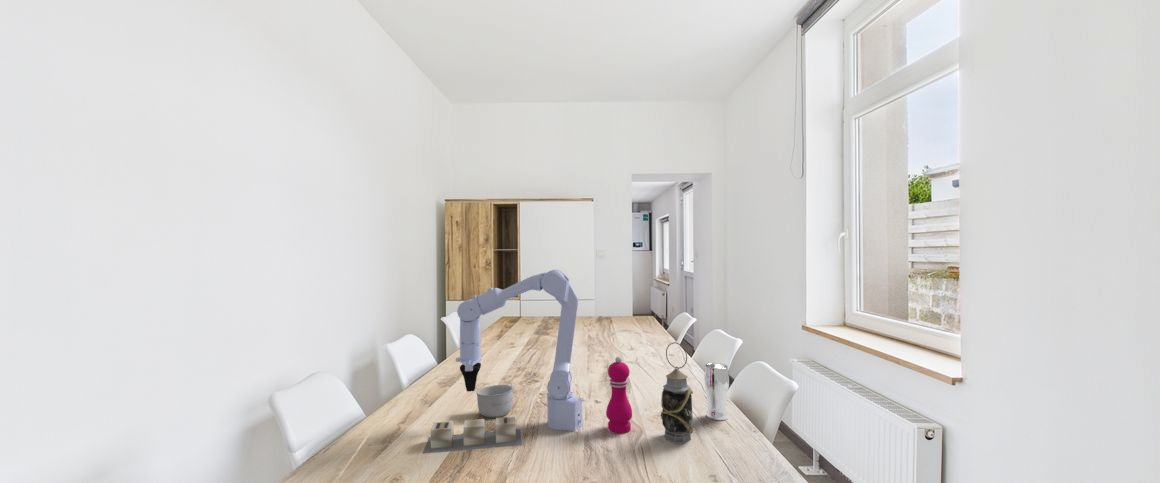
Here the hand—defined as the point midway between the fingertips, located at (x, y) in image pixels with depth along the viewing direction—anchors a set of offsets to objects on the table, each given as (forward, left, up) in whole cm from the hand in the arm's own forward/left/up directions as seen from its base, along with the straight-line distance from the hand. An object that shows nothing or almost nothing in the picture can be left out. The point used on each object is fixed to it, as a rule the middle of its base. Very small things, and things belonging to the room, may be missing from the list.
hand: (470, 390), depth 128 cm
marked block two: (0, +13, -10) cm, 16 cm away
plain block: (-7, +9, -10) cm, 15 cm away
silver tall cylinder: (-65, -30, -11) cm, 72 cm away
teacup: (-2, -12, -11) cm, 16 cm away
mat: (-7, +9, -10) cm, 15 cm away
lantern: (-56, -11, -11) cm, 58 cm away
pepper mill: (-40, -12, -11) cm, 43 cm away
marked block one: (-14, +5, -10) cm, 18 cm away
